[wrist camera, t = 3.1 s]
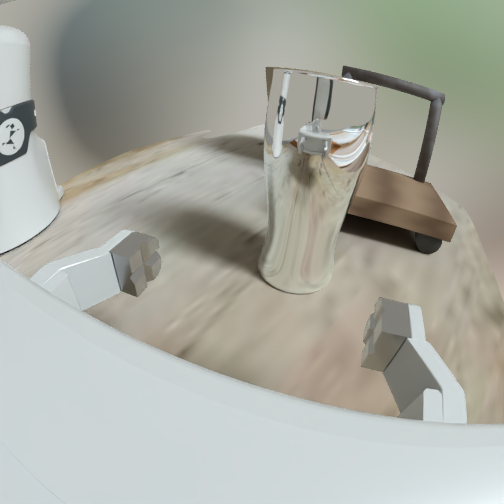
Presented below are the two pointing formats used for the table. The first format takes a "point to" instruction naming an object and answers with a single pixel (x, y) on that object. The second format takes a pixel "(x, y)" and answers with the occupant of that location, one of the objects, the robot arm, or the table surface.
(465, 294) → the table surface
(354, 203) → the dolly
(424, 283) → the table surface
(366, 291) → the table surface
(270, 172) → the beer glass
